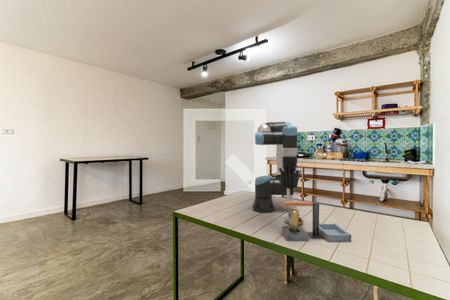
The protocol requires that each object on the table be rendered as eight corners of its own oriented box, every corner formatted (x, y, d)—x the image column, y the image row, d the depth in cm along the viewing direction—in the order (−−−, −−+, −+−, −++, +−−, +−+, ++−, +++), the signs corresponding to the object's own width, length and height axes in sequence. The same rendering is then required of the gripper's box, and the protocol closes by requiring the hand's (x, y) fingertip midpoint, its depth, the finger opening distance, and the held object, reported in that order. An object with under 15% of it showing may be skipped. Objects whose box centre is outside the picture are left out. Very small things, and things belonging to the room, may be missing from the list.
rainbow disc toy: (292, 227, 117) (292, 214, 116) (282, 221, 126) (283, 209, 126) (305, 226, 119) (305, 213, 119) (295, 220, 128) (295, 208, 128)
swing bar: (282, 207, 107) (282, 201, 107) (317, 207, 107) (317, 201, 106) (284, 209, 104) (284, 203, 104) (320, 208, 104) (320, 203, 103)
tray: (315, 229, 113) (315, 223, 113) (335, 229, 113) (335, 223, 113) (327, 241, 99) (327, 234, 99) (351, 241, 99) (351, 234, 99)
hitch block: (281, 232, 111) (281, 226, 111) (301, 232, 111) (301, 226, 110) (287, 240, 101) (287, 234, 101) (308, 240, 101) (308, 234, 100)
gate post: (307, 233, 109) (307, 203, 108) (319, 233, 108) (319, 203, 108) (312, 238, 103) (312, 207, 102) (324, 238, 102) (324, 207, 102)
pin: (289, 234, 107) (289, 209, 107) (296, 234, 107) (296, 209, 107) (291, 237, 104) (292, 211, 103) (299, 237, 104) (299, 211, 103)
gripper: (275, 155, 115) (275, 198, 116) (295, 156, 104) (295, 204, 105) (284, 155, 119) (284, 197, 120) (304, 156, 109) (304, 202, 109)
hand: (289, 200), depth 112 cm, fingers closed
